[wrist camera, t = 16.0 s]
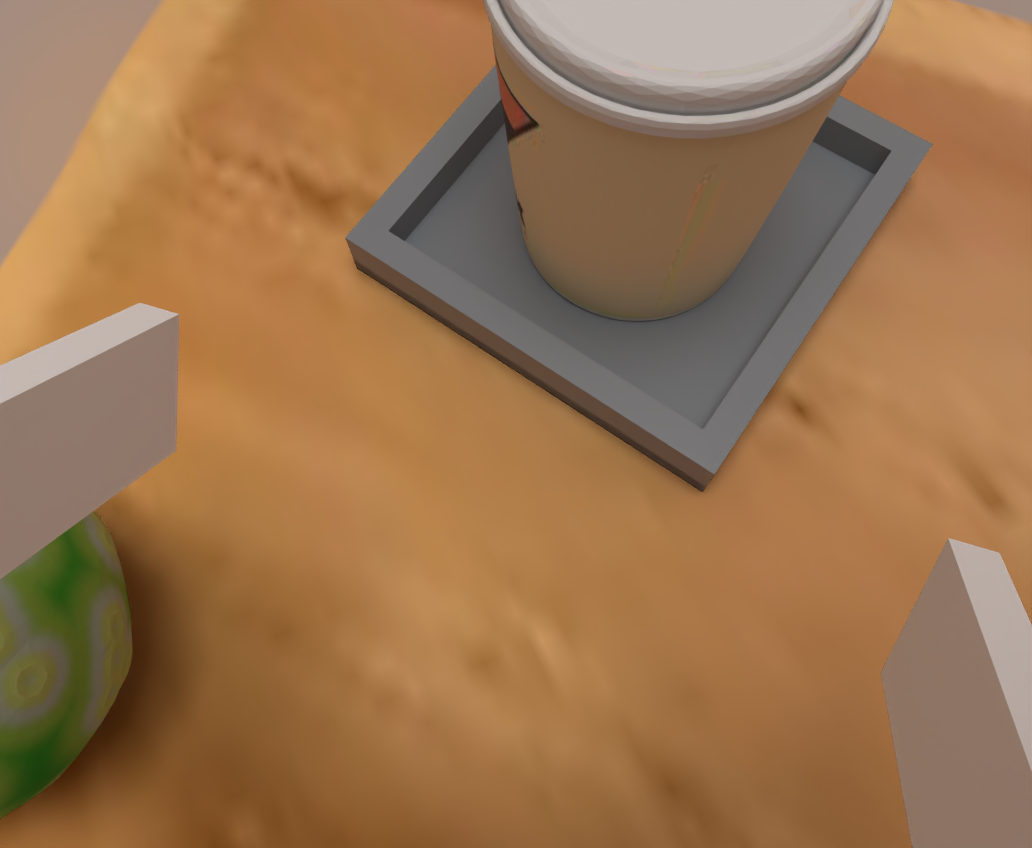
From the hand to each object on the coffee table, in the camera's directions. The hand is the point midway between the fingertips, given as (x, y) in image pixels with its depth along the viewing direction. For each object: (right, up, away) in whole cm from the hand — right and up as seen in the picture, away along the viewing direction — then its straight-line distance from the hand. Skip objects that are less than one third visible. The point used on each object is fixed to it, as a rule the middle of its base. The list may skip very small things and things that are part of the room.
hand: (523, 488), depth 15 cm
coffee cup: (+4, +8, +16) cm, 18 cm away
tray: (+4, +8, +16) cm, 19 cm away
